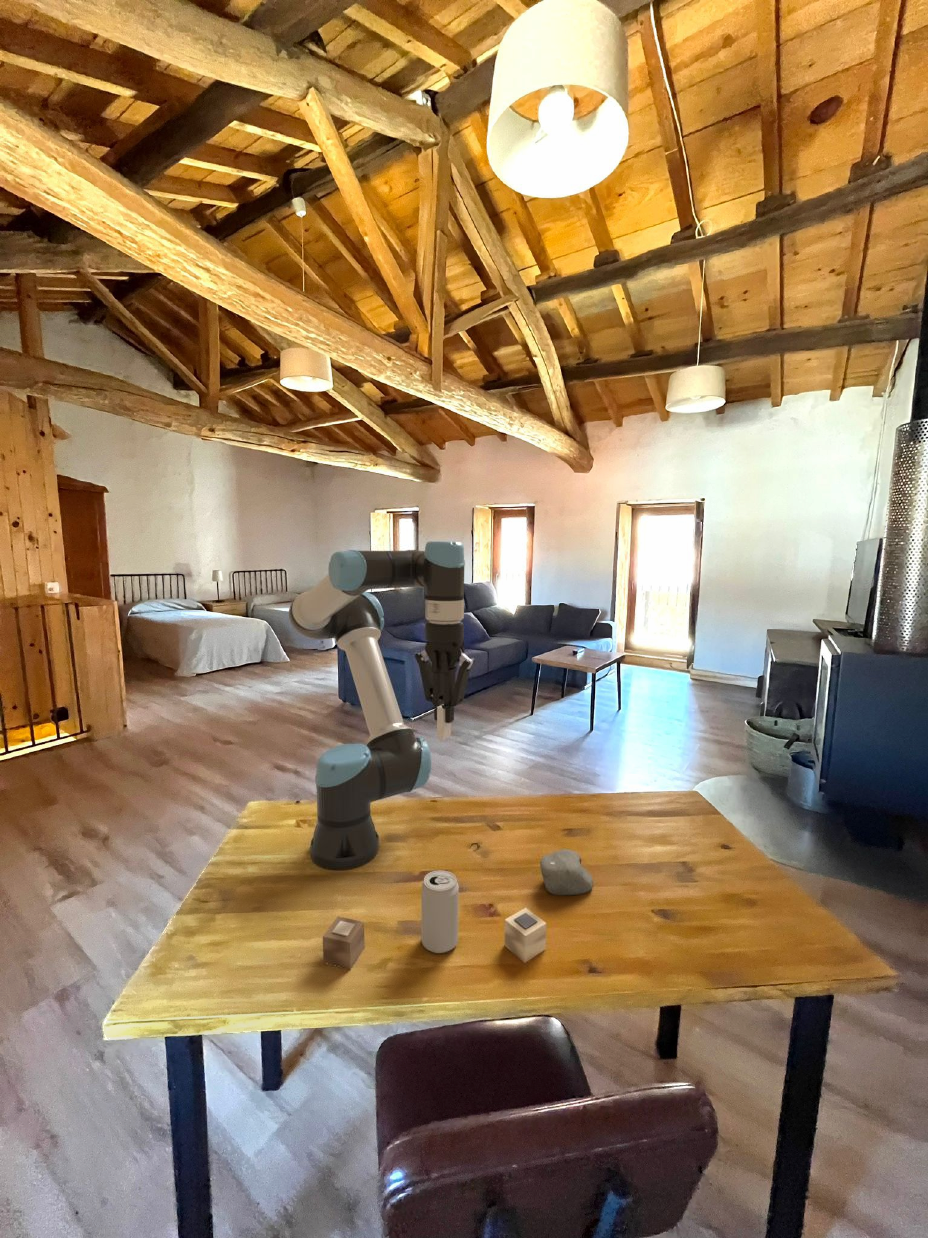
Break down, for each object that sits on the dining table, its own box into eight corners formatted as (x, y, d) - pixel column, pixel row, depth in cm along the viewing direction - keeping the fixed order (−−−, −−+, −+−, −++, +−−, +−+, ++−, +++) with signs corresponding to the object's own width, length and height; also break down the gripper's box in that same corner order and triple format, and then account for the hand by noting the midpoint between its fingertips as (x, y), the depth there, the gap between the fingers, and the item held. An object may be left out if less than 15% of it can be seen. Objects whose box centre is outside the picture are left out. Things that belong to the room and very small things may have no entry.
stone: (601, 899, 106) (579, 857, 105) (560, 919, 106) (538, 877, 105) (590, 872, 115) (570, 833, 114) (552, 890, 115) (532, 851, 114)
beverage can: (421, 930, 97) (421, 869, 95) (456, 929, 98) (457, 867, 96) (421, 957, 91) (421, 892, 89) (459, 955, 91) (460, 890, 90)
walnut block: (323, 963, 89) (322, 935, 89) (338, 942, 94) (337, 915, 93) (350, 970, 88) (349, 941, 87) (364, 948, 93) (364, 921, 92)
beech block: (504, 945, 94) (505, 918, 93) (525, 933, 97) (525, 906, 96) (524, 963, 90) (525, 935, 89) (545, 949, 93) (546, 922, 92)
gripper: (406, 620, 105) (406, 736, 109) (462, 626, 99) (461, 749, 102) (428, 616, 112) (428, 725, 115) (483, 621, 105) (481, 737, 108)
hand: (443, 737), depth 109 cm, fingers closed
